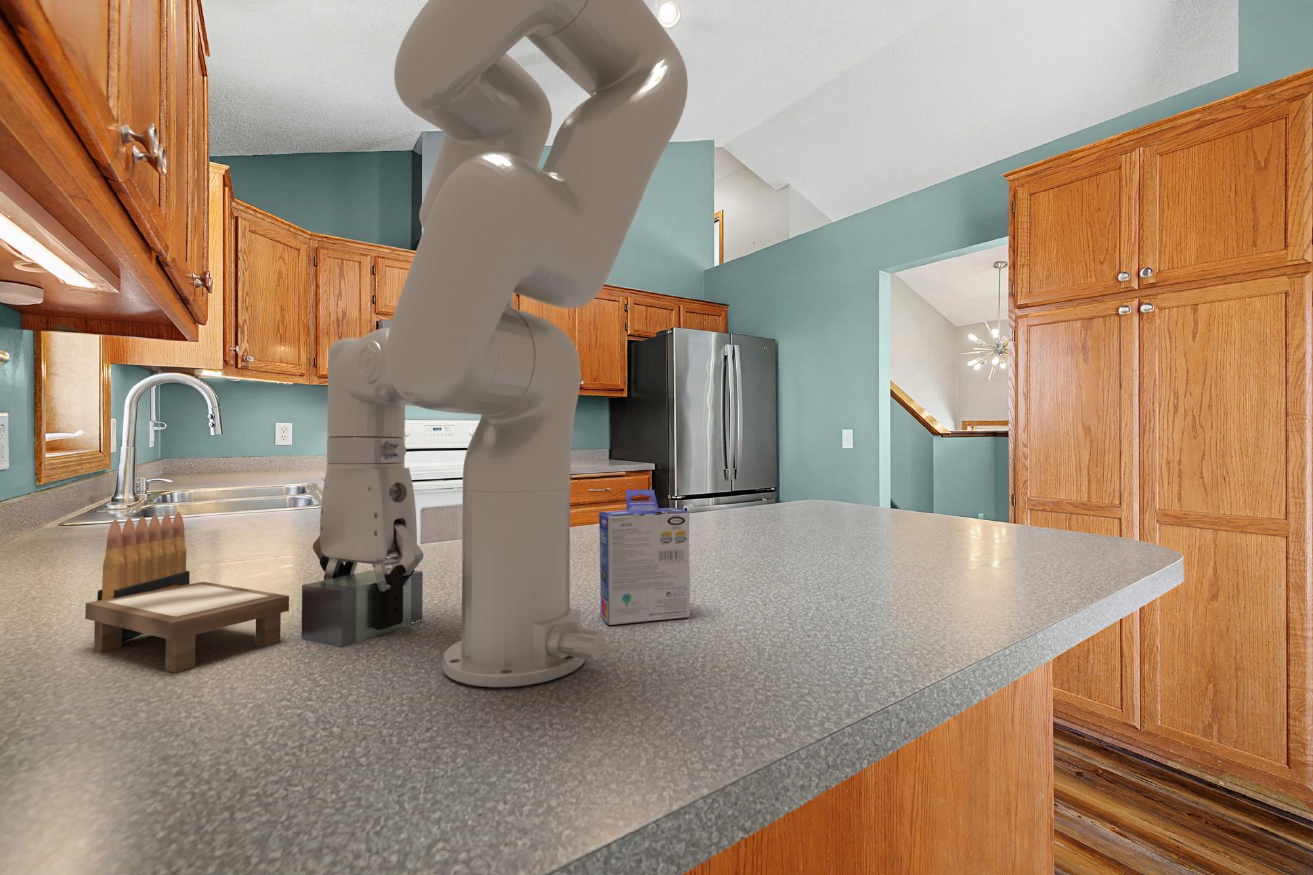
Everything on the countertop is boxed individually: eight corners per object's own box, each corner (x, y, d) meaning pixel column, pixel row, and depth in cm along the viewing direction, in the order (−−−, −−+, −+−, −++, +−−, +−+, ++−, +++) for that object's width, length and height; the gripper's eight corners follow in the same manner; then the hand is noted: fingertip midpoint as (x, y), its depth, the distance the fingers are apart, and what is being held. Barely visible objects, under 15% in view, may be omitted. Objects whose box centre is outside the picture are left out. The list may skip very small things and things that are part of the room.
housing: (422, 620, 66) (422, 571, 66) (341, 647, 57) (342, 590, 57) (384, 614, 68) (385, 567, 68) (301, 639, 59) (302, 585, 59)
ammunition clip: (114, 642, 57) (117, 520, 58) (93, 643, 57) (97, 520, 58) (190, 614, 68) (192, 511, 69) (173, 614, 68) (175, 511, 68)
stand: (288, 640, 59) (289, 595, 59) (171, 675, 50) (172, 621, 50) (202, 622, 65) (203, 581, 65) (84, 650, 56) (85, 602, 56)
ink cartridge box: (676, 606, 72) (675, 488, 72) (692, 618, 66) (692, 491, 67) (597, 613, 68) (597, 490, 69) (608, 627, 63) (608, 493, 63)
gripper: (453, 455, 63) (451, 623, 62) (343, 454, 70) (342, 604, 70) (395, 455, 56) (393, 644, 56) (281, 454, 63) (278, 621, 63)
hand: (364, 620), depth 63 cm, fingers open, 6 cm apart
